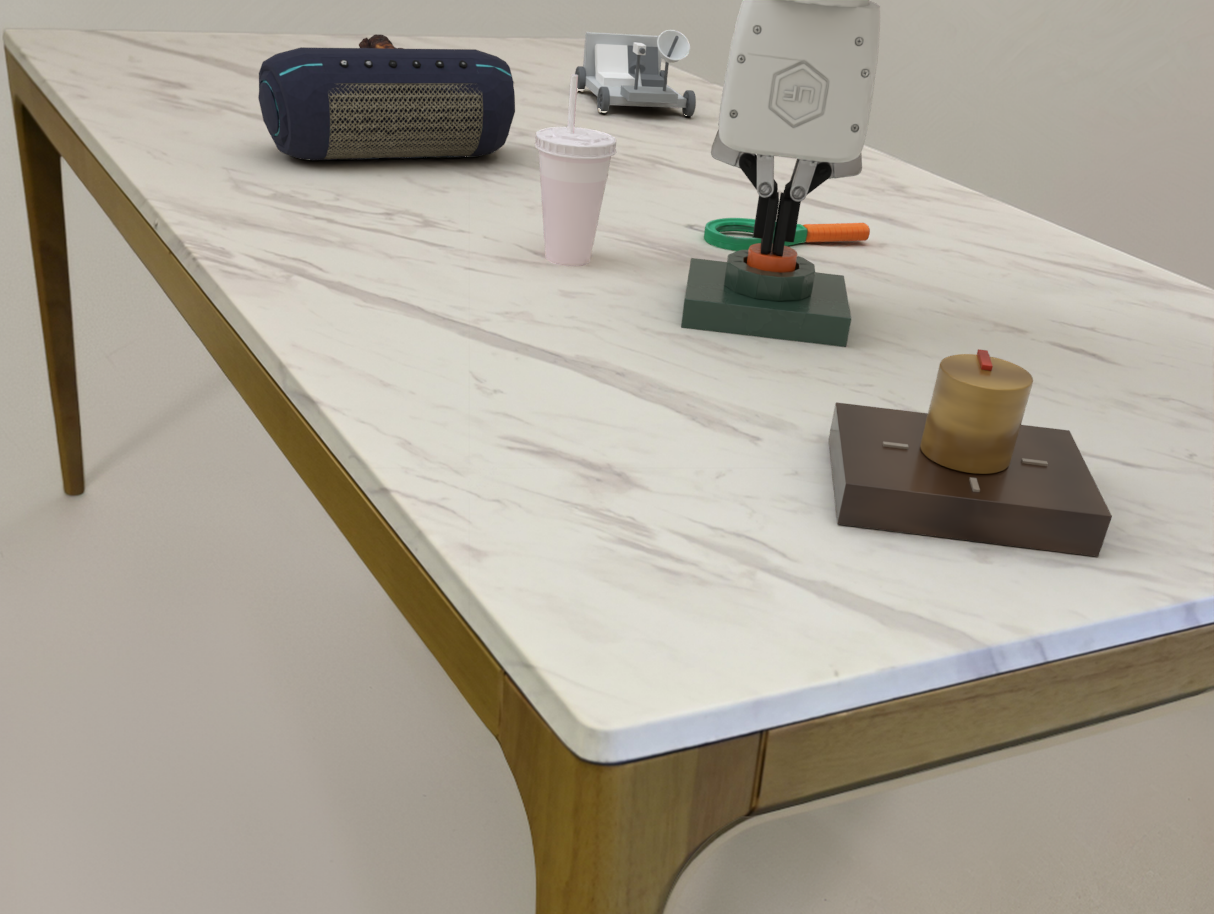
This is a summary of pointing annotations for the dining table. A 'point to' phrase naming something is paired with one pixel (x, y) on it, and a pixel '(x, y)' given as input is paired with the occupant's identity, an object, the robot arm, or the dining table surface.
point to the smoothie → (572, 185)
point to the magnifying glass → (747, 225)
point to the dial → (976, 413)
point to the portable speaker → (386, 102)
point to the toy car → (634, 70)
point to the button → (772, 259)
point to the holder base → (963, 486)
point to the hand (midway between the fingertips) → (771, 249)
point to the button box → (767, 301)
